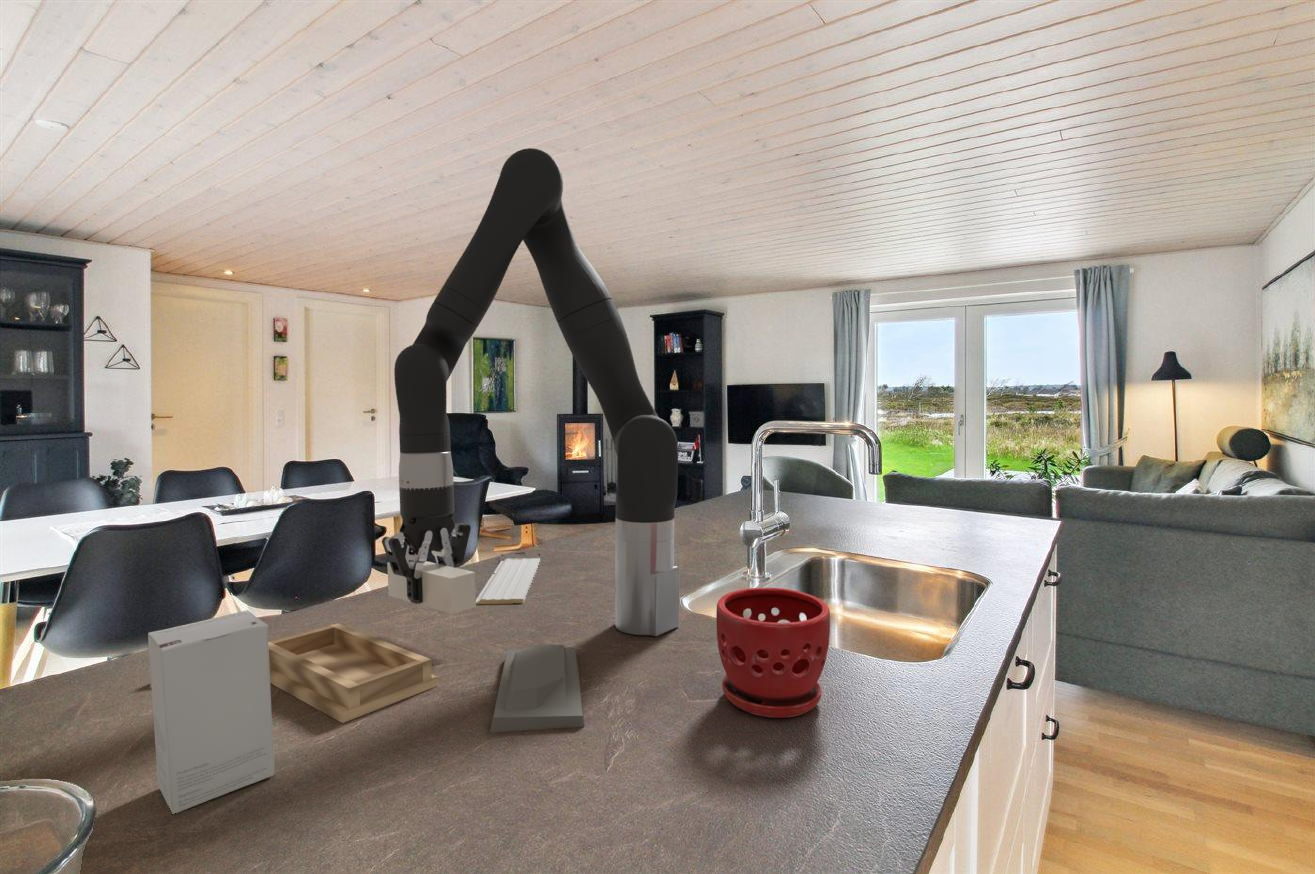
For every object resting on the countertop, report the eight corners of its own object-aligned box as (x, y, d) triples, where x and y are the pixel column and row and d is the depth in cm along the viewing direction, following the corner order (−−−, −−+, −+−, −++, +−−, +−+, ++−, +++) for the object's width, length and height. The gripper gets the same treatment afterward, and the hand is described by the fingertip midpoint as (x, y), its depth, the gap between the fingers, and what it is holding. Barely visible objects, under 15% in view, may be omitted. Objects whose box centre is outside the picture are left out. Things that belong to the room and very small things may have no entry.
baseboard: (465, 607, 115) (523, 607, 116) (465, 591, 115) (523, 591, 116) (494, 565, 145) (540, 564, 146) (494, 552, 145) (540, 552, 146)
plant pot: (696, 689, 81) (697, 593, 81) (786, 672, 86) (787, 582, 86) (752, 738, 69) (753, 626, 69) (852, 716, 74) (854, 611, 74)
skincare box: (256, 755, 65) (252, 607, 65) (277, 779, 61) (273, 621, 61) (151, 790, 59) (146, 628, 59) (166, 820, 55) (160, 645, 54)
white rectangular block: (476, 606, 94) (474, 572, 94) (452, 614, 91) (450, 578, 91) (412, 589, 104) (411, 557, 103) (388, 595, 101) (387, 562, 100)
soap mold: (487, 738, 70) (487, 706, 70) (503, 664, 90) (503, 639, 90) (585, 731, 72) (585, 700, 71) (579, 660, 91) (579, 635, 91)
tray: (437, 685, 82) (437, 657, 81) (342, 723, 72) (342, 690, 72) (343, 646, 95) (343, 621, 94) (253, 673, 85) (252, 645, 85)
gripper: (397, 490, 88) (401, 616, 89) (482, 479, 100) (485, 590, 101) (366, 486, 93) (371, 606, 94) (451, 476, 104) (455, 583, 105)
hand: (430, 597), depth 97 cm, fingers closed on white rectangular block, 4 cm apart
